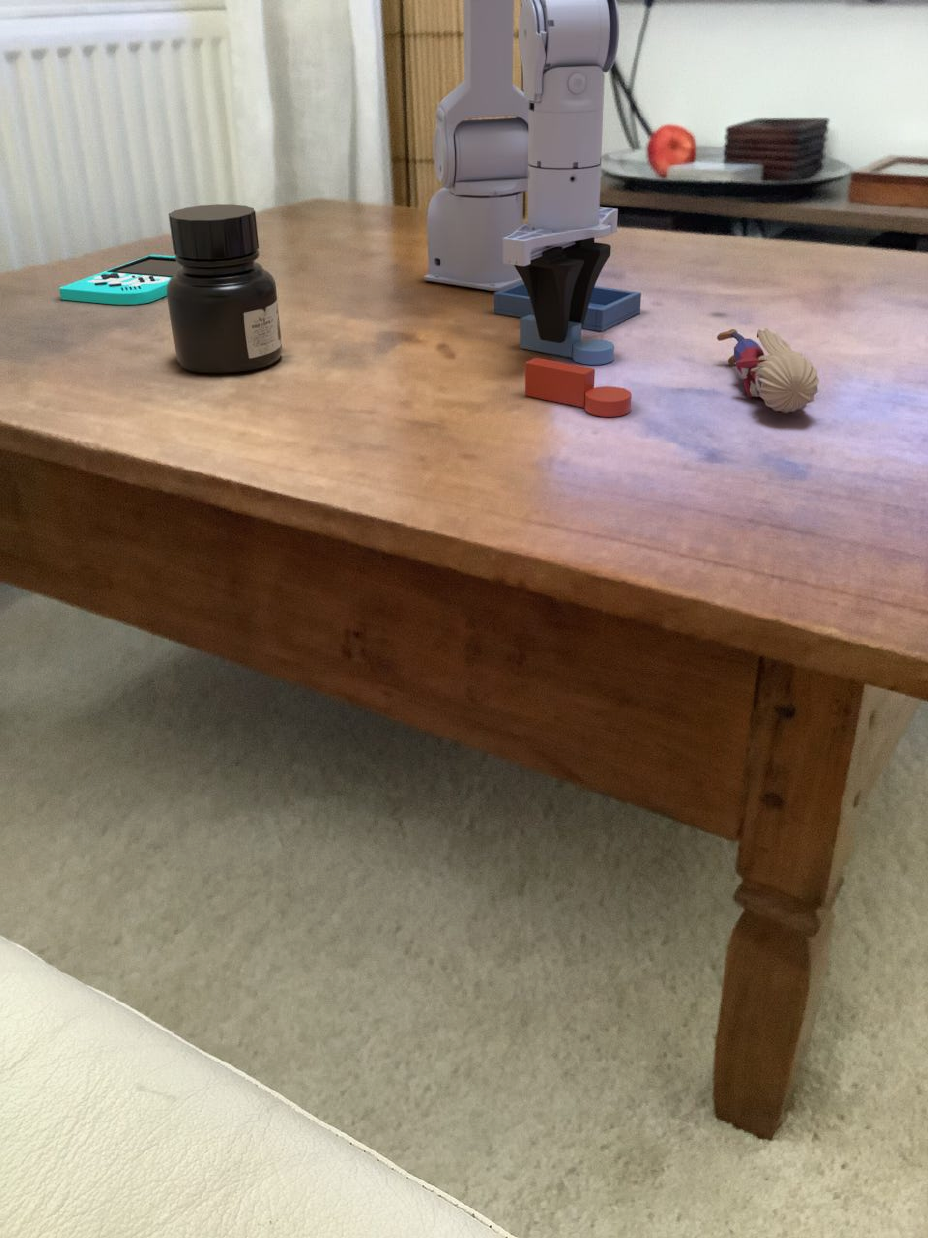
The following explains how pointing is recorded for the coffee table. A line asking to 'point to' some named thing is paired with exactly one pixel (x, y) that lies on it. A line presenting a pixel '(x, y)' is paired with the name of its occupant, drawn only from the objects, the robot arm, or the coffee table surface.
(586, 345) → the blue block with disc
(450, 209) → the robot arm
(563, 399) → the red block with disc
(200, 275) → the ink bottle
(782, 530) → the coffee table surface
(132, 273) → the handheld game console
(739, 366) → the figurine
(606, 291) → the blue tray
